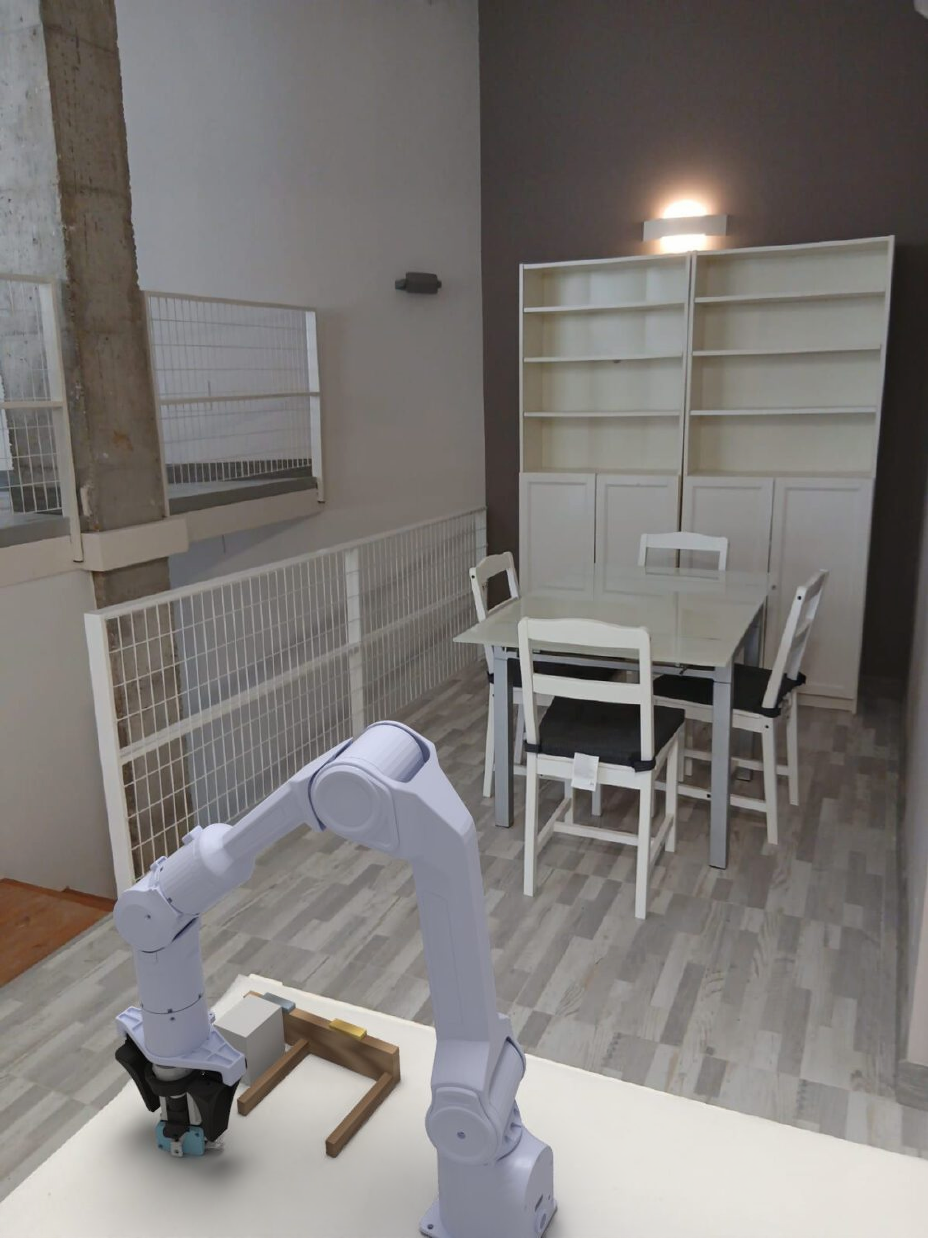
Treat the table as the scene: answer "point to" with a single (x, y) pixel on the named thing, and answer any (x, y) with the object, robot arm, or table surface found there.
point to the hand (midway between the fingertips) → (187, 1119)
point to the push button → (178, 1110)
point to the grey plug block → (254, 1034)
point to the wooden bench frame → (338, 1047)
